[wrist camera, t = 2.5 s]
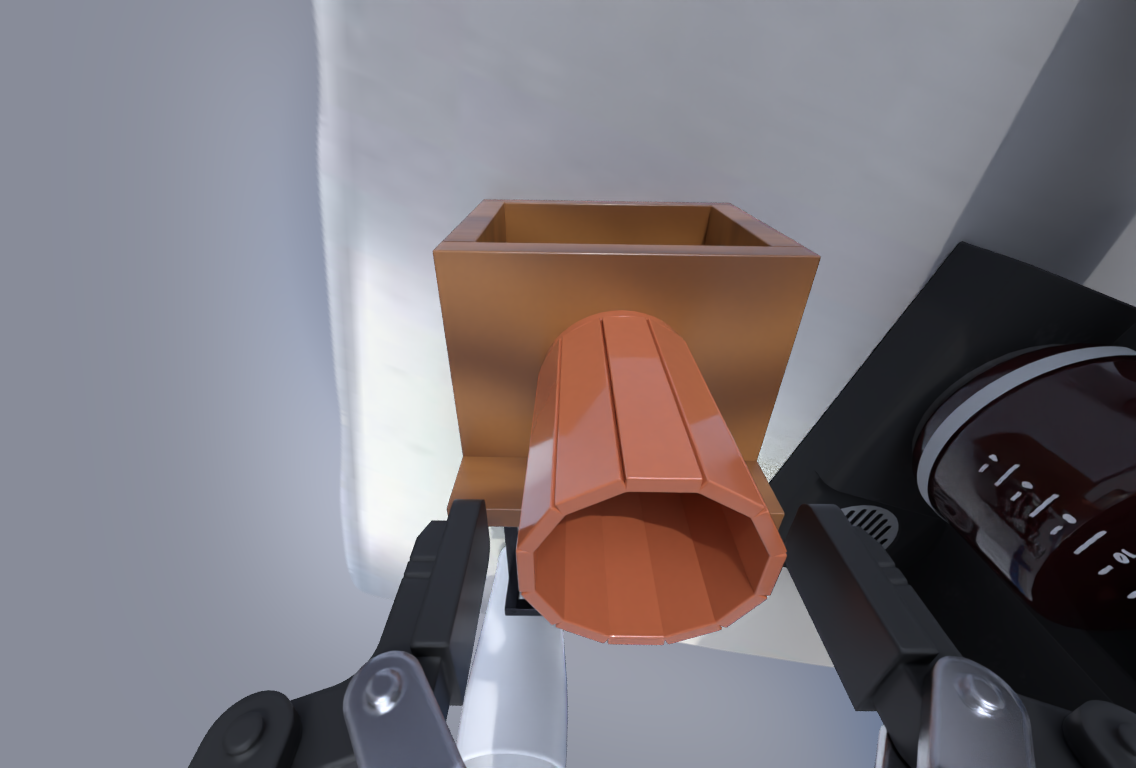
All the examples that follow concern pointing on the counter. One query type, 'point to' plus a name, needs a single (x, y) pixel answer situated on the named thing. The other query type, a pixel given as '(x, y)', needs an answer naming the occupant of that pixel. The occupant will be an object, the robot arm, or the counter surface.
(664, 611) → the cup
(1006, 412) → the coffee maker
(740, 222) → the wooden open box
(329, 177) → the counter surface
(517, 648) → the drinking glass
